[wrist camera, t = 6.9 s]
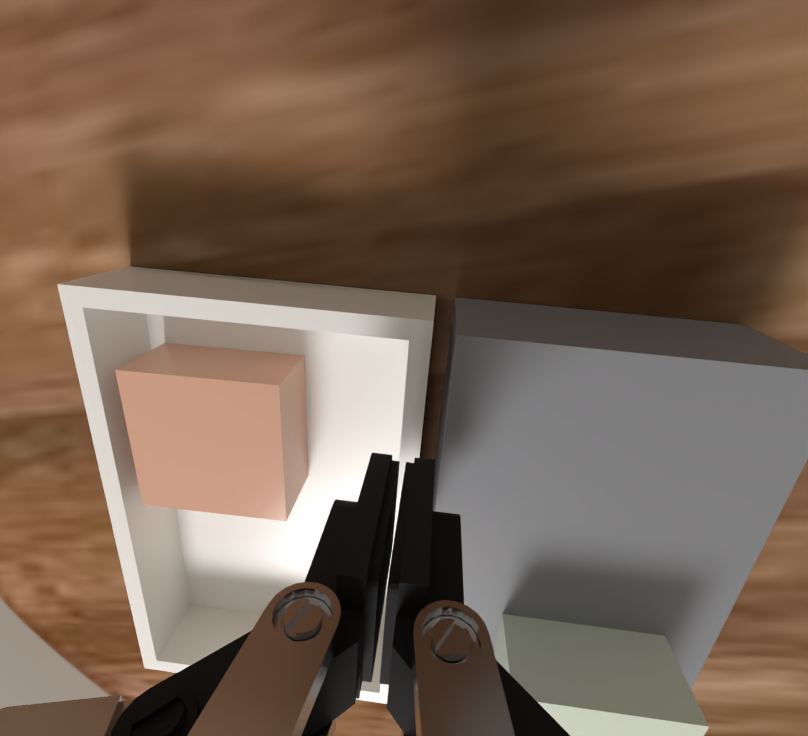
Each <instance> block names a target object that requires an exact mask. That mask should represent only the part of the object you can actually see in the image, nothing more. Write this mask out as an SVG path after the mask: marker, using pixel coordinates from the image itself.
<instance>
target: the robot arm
mask: <svg viewBox="0 0 808 736" xmlns="http://www.w3.org/2000/svg"><path fill="white" fill-rule="evenodd" d="M399 464H400V461H393V460H392V455H389V454H381V453H372V454H371V457H370V460H369V464H368V467H367V471H366V474H365V478H364V481H363V485H362V488H361V491H360V495H359V498H358V502H354V501H346V500H338V499H336V500H335V501H334V503H333V505H332V508H331V510H330V513H329V516H328V519H327V521H326V524H325V527H324V530H323V532H322V535H321V538H320V541H319V543H318V546H317V549H316V552H315V554H314V557H313V560H312V563H311V565H310V568H309V571H308V574H307V576H306V579H305V582H302V583H296V584H293V585H291V586H288V587H286V588H284V589H283V590H281V591H280V592H279V593H277V594H276V595H275V596H274V597H273V598H272V600H271V601H270V602H269V603H268V605H267V607H266V608H265V610H264V611H263V613H262V615H261V616H260V618H259V620H258V621H257V623H256V624H255V626H254V628H253V629H252V631H250V632H248V633H246V634H245V635H243V636H241V637H239V638H238V639H236V640H234V641H232V642H231V643H229V644H227V645H225V646H224V647H222V648H220V649H218V650H217V651H215V652H213V653H211V654H209V655H208V656H206V657H204V658H202V659H201V660H199V661H197V662H195V663H194V664H192V665H190V666H188V667H187V668H185V669H183V670H181V671H180V672H178V673H176V674H174V675H173V676H171V677H169V678H167V679H166V680H164V681H162V682H160V683H159V684H157V685H155V686H153V687H151V688H150V689H148V690H147V691H145V692H144V693H143V694H141V695H140V696H138V697H137V698H136V699H135V700H129V701H122V697H121V695H118V696H108V697H99V698H90V699H79V700H70V701H60V702H52V703H42V704H33V705H22V706H13V707H6V708H2V709H0V736H333V735H334V732H335V729H336V725H337V720H338V716H339V715H341V714H342V713H343V712H345V711H346V710H347V709H348V708H350V707H351V706H352V705H353V704H355V701H356V698H357V699H359V697H360V691H361V685H362V681H365V682H372V677H373V671H374V664H375V658H376V651H377V645H378V638H379V632H380V625H381V619H382V612H383V606H384V599H385V593H386V586H387V580H388V587H387V598H386V610H385V622H384V634H383V646H382V659H381V671H380V684H386V685H389V688H388V698H387V709H388V711H389V712H390V713H391V715H392V716H393V718H394V719H395V721H396V722H397V723H398V725H399V726H400V728H401V729H402V731H401V736H570V735H569V734H568V733H567V732H566V731H565V730H564V729H563V728H562V727H561V726H560V725H559V723H558V722H557V721H556V720H555V719H554V718H553V717H552V716H551V715H550V714H549V713H548V712H547V711H546V710H545V709H544V708H543V707H542V706H541V705H540V704H539V703H538V702H537V701H536V700H535V699H534V698H533V697H532V696H531V695H530V694H529V693H528V692H527V691H526V690H525V689H524V688H523V687H522V686H521V685H520V684H519V683H518V682H517V681H516V680H515V679H514V678H513V677H512V676H511V675H510V674H509V673H508V672H507V671H506V670H505V668H504V667H503V666H502V665H501V664H500V663H499V662H498V661H497V660H496V658H495V654H494V650H493V646H492V642H491V638H490V634H489V631H488V629H487V627H486V624H485V622H484V621H483V620H482V618H481V617H480V616H479V615H478V613H476V612H475V611H474V610H472V609H471V608H470V607H468V606H466V605H464V588H463V563H462V538H461V517H460V514H452V513H444V512H436V511H433V492H434V470H435V460H433V459H424V458H415V459H414V463H410V462H406V465H405V472H404V478H403V485H402V491H401V498H400V504H399V511H398V518H397V524H396V531H395V537H394V544H393V535H394V523H395V512H396V500H397V488H398V476H399ZM392 546H393V550H392ZM391 553H392V557H391ZM390 560H391V564H390ZM389 567H390V570H389ZM388 573H389V578H388Z"/></svg>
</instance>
